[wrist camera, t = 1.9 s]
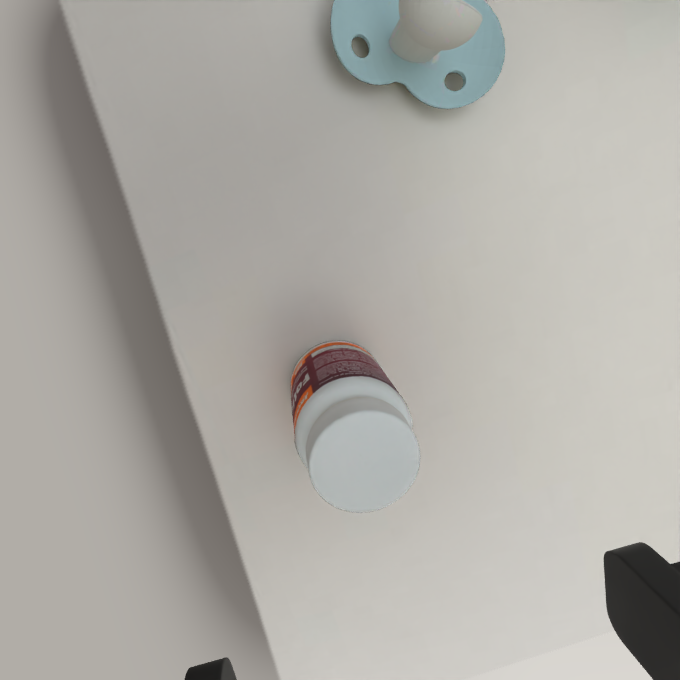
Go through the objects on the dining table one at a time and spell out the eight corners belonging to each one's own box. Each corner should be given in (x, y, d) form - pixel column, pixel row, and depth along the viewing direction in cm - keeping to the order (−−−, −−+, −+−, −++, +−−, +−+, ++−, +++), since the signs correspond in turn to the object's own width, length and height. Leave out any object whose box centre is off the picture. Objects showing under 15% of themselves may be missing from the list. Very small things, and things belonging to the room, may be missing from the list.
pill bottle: (283, 346, 23) (287, 412, 15) (375, 332, 24) (426, 389, 16) (296, 432, 25) (307, 535, 17) (384, 417, 25) (436, 510, 17)
